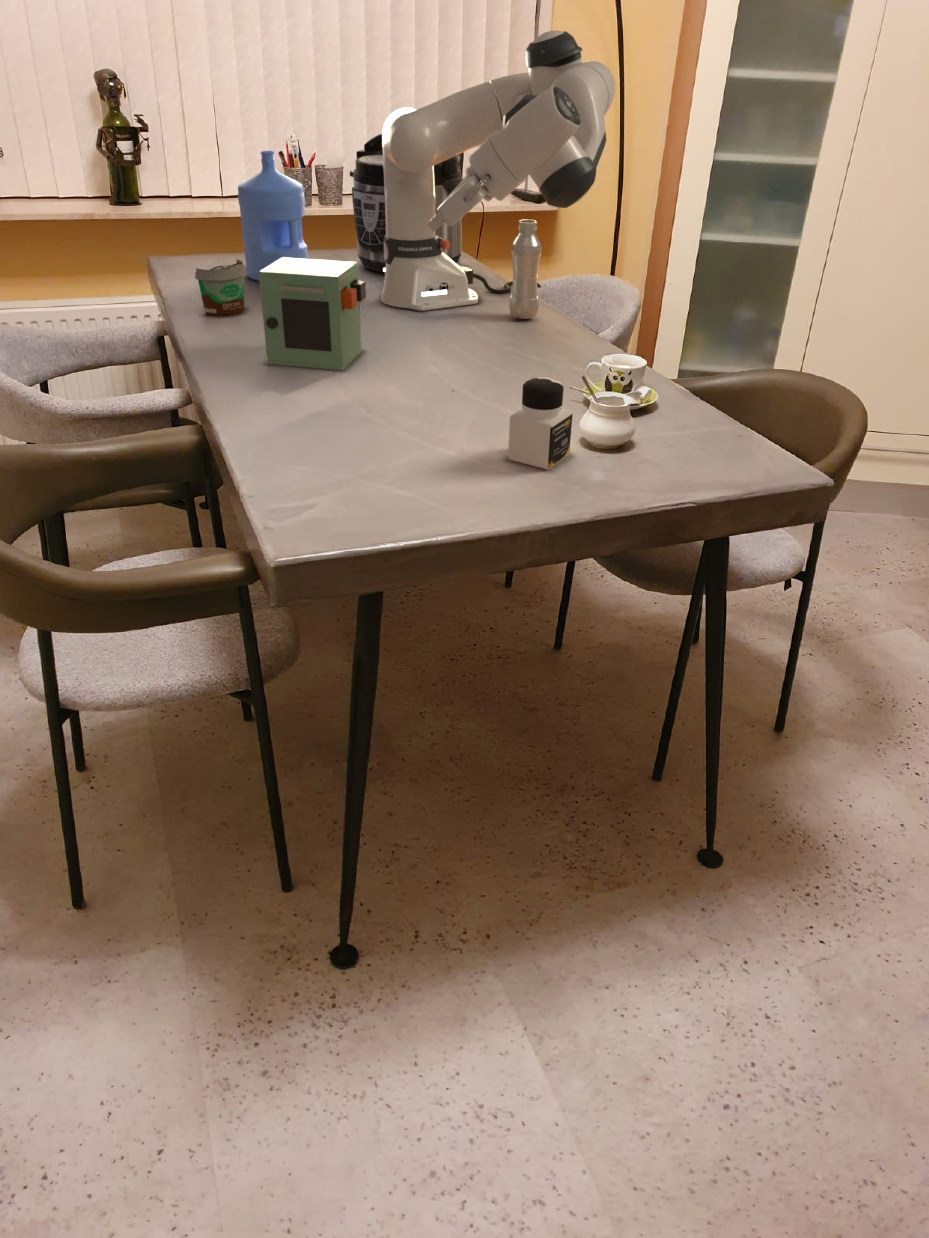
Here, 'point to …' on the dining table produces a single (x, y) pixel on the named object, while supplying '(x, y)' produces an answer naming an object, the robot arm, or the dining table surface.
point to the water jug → (271, 217)
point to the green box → (309, 313)
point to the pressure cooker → (372, 204)
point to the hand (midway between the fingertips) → (431, 226)
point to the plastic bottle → (525, 271)
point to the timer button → (359, 289)
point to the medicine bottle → (540, 425)
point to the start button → (348, 298)
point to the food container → (222, 289)
